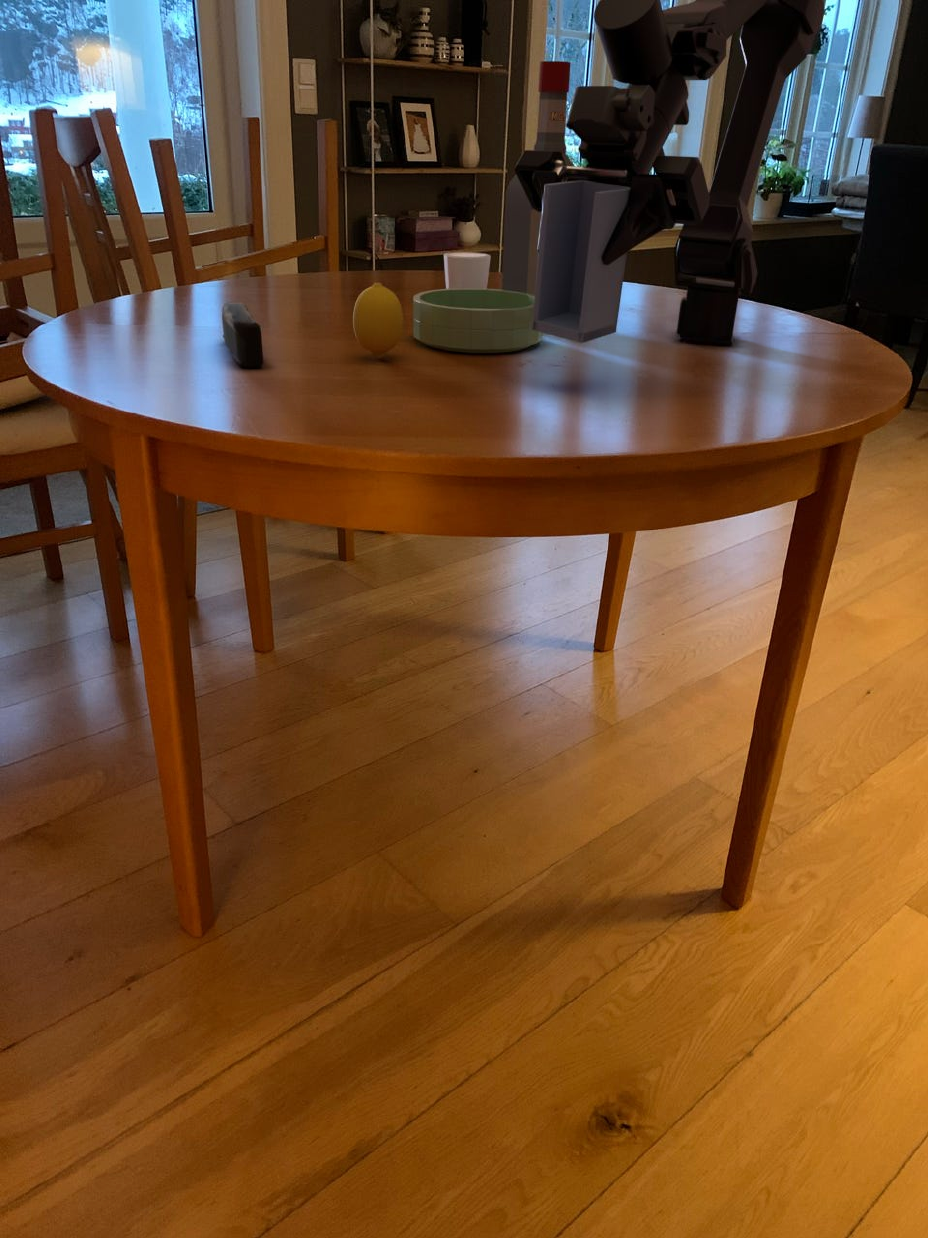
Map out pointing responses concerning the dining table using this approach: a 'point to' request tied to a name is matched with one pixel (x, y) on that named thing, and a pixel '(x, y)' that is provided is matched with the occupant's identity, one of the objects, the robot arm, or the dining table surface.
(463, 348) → the bowl
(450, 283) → the white cup
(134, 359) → the dining table surface
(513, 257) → the liquor
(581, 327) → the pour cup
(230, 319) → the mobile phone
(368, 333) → the lemon
